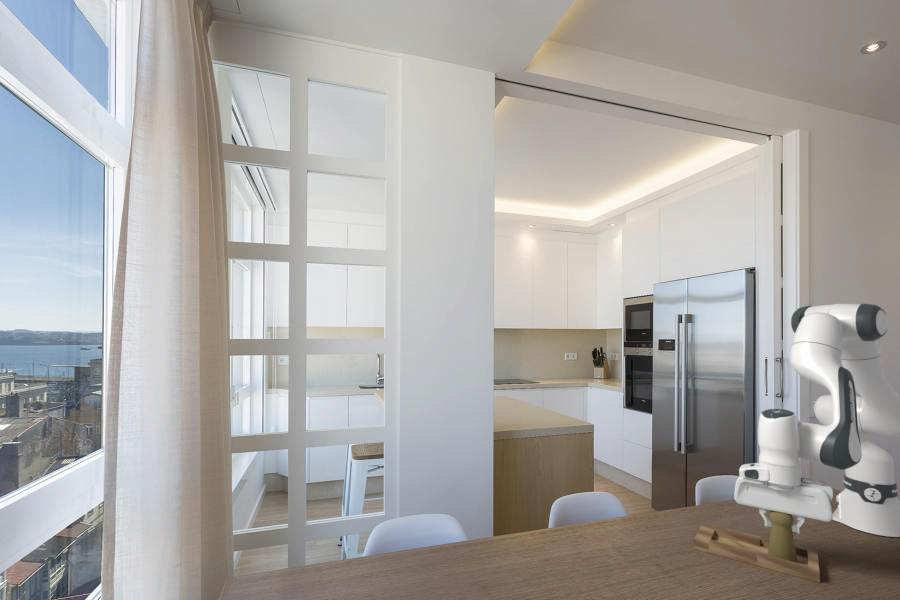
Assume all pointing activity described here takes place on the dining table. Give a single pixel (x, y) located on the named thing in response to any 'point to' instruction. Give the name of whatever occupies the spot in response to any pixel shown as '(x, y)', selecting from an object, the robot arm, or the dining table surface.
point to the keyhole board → (755, 551)
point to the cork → (781, 536)
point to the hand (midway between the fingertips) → (781, 529)
